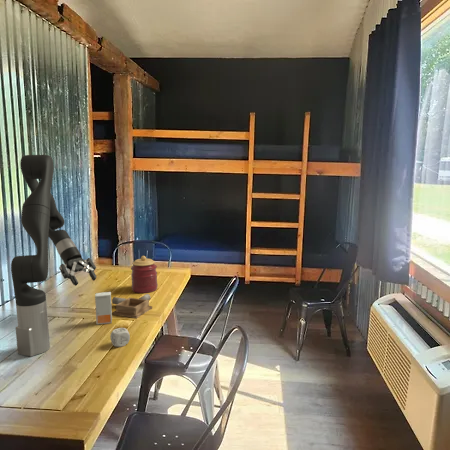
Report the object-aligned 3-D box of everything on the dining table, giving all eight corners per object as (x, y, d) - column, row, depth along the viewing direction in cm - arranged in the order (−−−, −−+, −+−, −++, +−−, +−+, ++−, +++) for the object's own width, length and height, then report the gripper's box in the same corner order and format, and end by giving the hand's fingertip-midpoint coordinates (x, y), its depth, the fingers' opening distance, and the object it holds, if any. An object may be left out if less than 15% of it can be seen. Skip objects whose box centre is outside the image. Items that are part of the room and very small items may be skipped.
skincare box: (96, 325, 156) (94, 296, 154) (96, 321, 160) (95, 292, 158) (112, 323, 157) (110, 294, 155) (112, 319, 161) (110, 291, 159)
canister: (160, 291, 196) (158, 257, 194) (134, 295, 192) (132, 259, 189) (154, 284, 208) (153, 252, 206) (130, 287, 204) (128, 254, 201)
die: (130, 343, 139) (129, 330, 138) (117, 348, 136) (116, 334, 135) (123, 339, 143) (122, 326, 142) (110, 343, 139) (109, 330, 138)
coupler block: (136, 318, 162) (136, 308, 162) (101, 312, 169) (100, 303, 168) (159, 303, 179) (158, 295, 178) (126, 299, 185) (125, 291, 185)
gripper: (55, 249, 160) (73, 280, 155) (86, 243, 171) (104, 272, 166) (49, 260, 164) (67, 291, 159) (79, 253, 175) (97, 282, 170)
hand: (86, 281), depth 163 cm, fingers open, 8 cm apart
